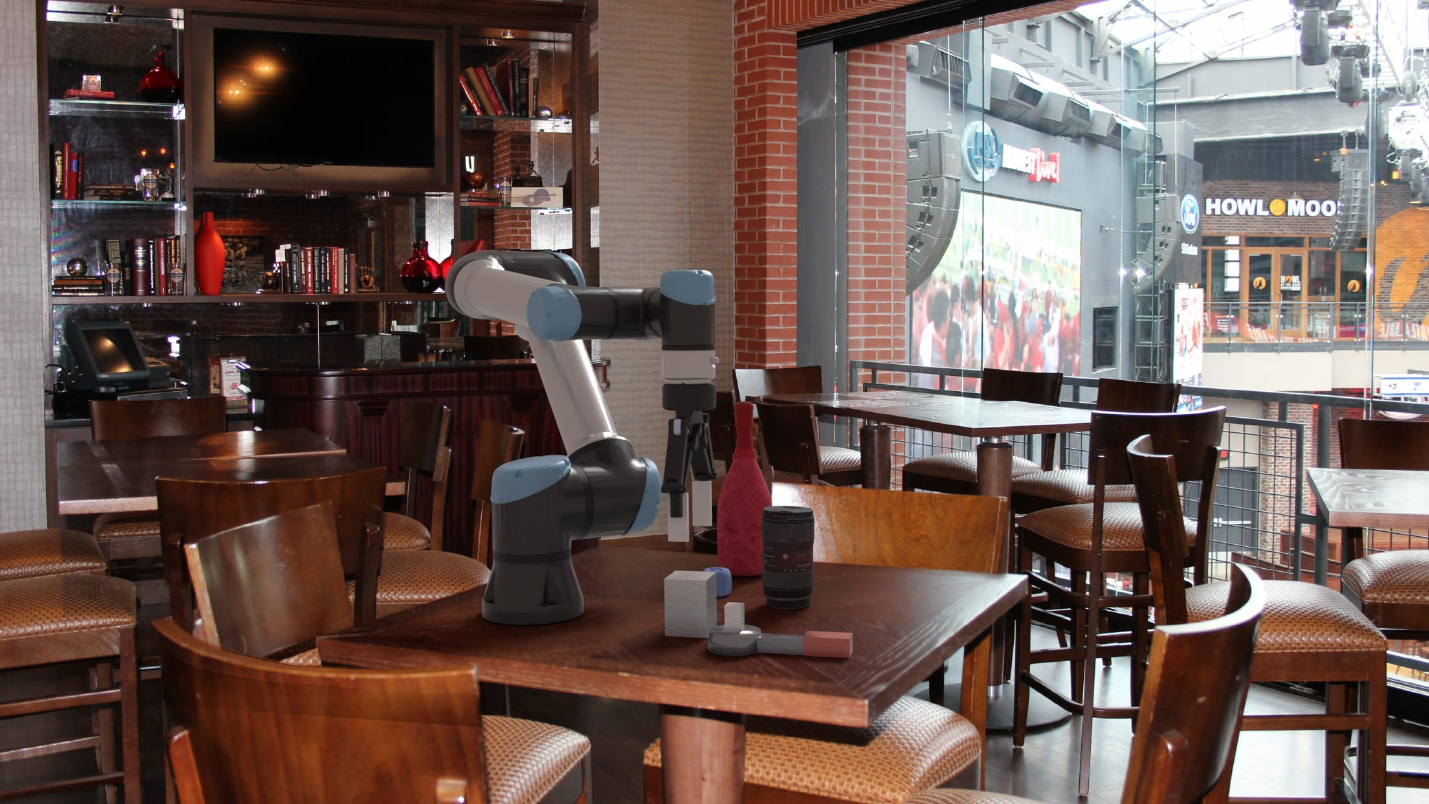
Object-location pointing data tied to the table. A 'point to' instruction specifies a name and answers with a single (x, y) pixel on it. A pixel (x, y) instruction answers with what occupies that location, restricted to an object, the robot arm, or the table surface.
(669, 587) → the light grey block
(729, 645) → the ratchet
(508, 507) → the robot arm
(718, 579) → the decorative dice
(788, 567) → the camera lens
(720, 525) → the wine bottle
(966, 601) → the table surface
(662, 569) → the table surface
